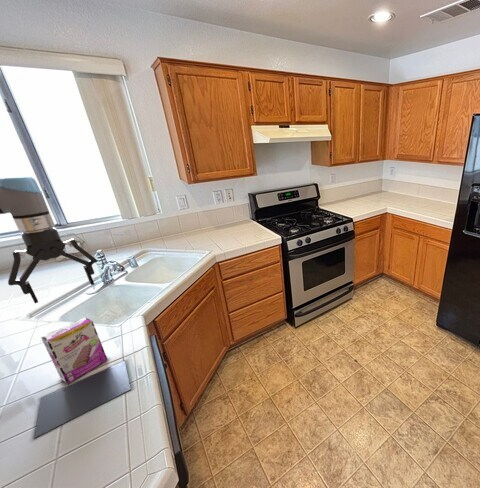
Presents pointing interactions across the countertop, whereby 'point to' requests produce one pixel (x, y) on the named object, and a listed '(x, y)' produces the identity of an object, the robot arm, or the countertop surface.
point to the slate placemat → (81, 397)
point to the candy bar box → (75, 349)
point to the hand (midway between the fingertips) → (65, 292)
